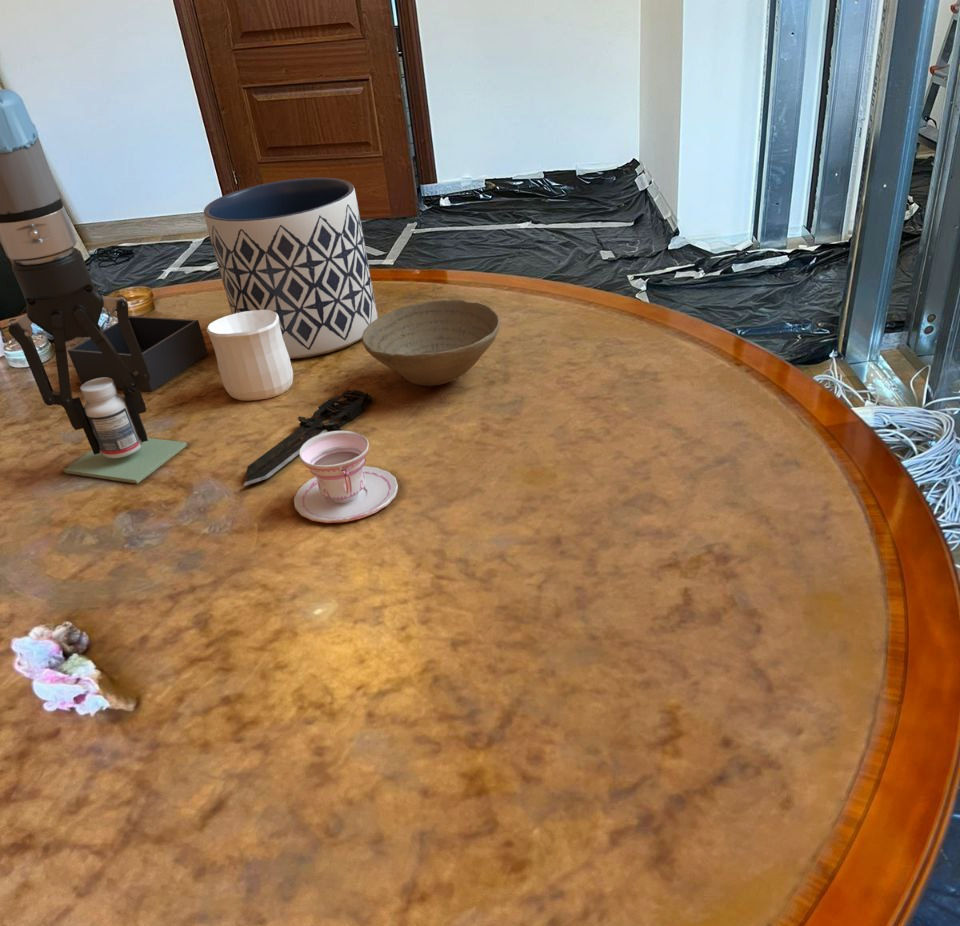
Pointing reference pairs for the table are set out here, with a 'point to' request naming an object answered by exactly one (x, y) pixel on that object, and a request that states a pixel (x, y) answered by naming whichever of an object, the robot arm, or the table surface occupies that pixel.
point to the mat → (127, 462)
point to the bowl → (432, 339)
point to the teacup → (341, 479)
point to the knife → (306, 427)
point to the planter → (296, 260)
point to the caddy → (144, 350)
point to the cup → (251, 355)
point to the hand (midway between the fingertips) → (120, 443)
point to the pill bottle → (110, 418)
